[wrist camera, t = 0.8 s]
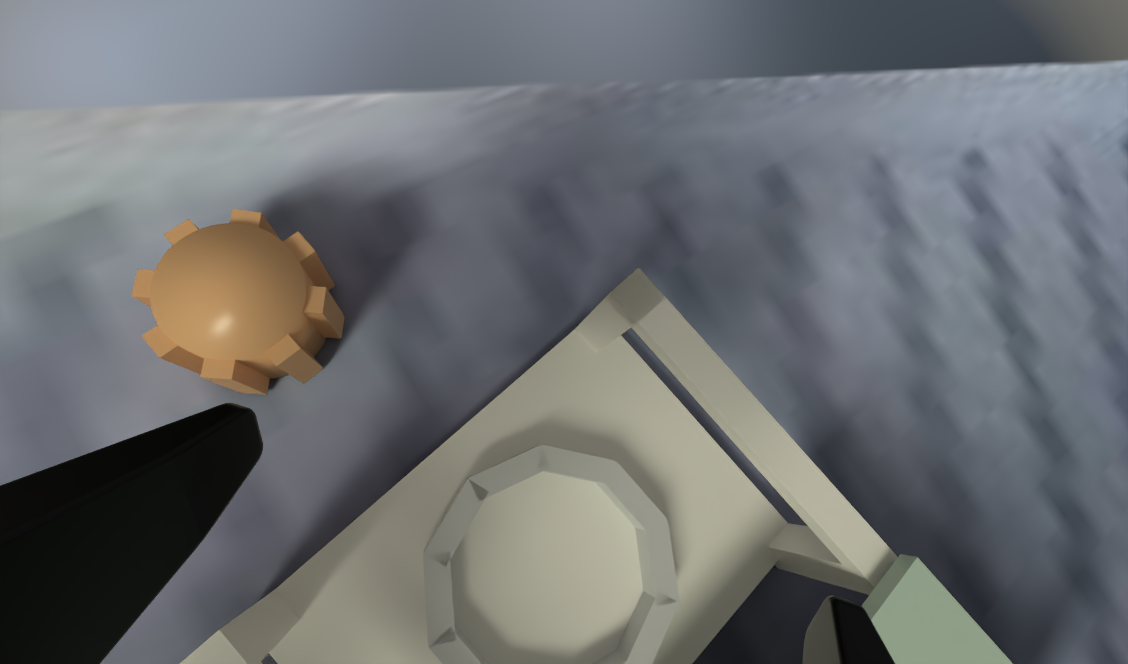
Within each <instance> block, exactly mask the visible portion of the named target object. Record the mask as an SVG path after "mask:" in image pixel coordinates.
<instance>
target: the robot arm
mask: <svg viewBox="0 0 1128 664" xmlns="http://www.w3.org/2000/svg"><path fill="white" fill-rule="evenodd" d="M262 451H263V442H262V438H261V434H260V430H259V426H258V422H257V418H256V415H255V413H254V412H253V411H252V410H251V409H250V408H247V407H244V406H241V405H237V404H234V403H225V404H222V405H219V406H216V407H213V408H211V409H208V410H205V411H203V412H200V413H197V414H194V415H192V416H189V417H186V418H183V419H181V420H178V421H175V422H173V423H170V424H167V425H164V426H162V427H159V428H156V429H154V430H151V431H148V432H145V433H143V434H140V435H137V436H134V437H132V438H129V439H126V440H124V441H121V442H118V443H115V444H113V445H110V446H107V447H104V448H102V449H99V450H96V451H94V452H91V453H88V454H85V455H83V456H80V457H77V458H74V459H72V460H69V461H66V462H64V463H61V464H58V465H55V466H53V467H50V468H47V469H44V470H42V471H39V472H36V473H33V474H31V475H28V476H25V477H23V478H20V479H17V480H14V481H12V482H9V483H6V484H3V485H1V486H0V664H100V663H101V662H102V661H103V659H104V658H105V657H106V656H107V655H108V653H109V652H110V651H111V650H112V649H113V647H114V646H115V645H116V644H117V643H118V641H119V640H120V639H121V638H122V637H123V635H124V634H125V633H126V632H127V631H128V629H129V628H130V627H131V626H132V625H133V623H134V622H135V621H136V620H137V619H138V618H139V616H140V615H141V614H142V613H143V612H144V610H145V609H146V608H147V607H148V606H149V604H150V603H151V602H152V601H153V600H154V598H155V597H156V596H157V595H158V594H159V592H160V591H161V590H162V589H163V588H164V586H165V585H166V584H167V583H168V582H169V580H170V579H171V578H172V577H173V576H174V574H175V573H176V572H177V571H178V570H179V568H180V567H181V566H182V565H183V564H184V562H185V561H186V560H187V559H188V558H189V557H190V555H191V554H192V553H193V552H194V550H195V549H196V548H197V547H198V545H199V544H200V543H201V542H202V540H203V539H204V538H205V536H206V535H207V534H208V532H209V531H210V530H211V528H212V527H213V526H214V524H215V523H216V521H217V520H218V518H219V517H220V515H221V514H222V512H223V511H224V510H225V508H226V507H227V505H228V504H229V502H230V501H231V499H232V498H233V497H234V495H235V494H236V492H237V491H238V489H239V488H240V486H241V485H242V483H243V482H244V481H245V479H246V478H247V476H248V475H249V473H250V472H251V470H252V469H253V468H254V466H255V465H256V463H257V462H258V460H259V458H260V456H261V454H262ZM802 664H895V662H894V660H893V659H892V657H891V655H890V653H889V651H888V650H887V648H886V646H885V644H884V643H883V641H882V639H881V637H880V635H879V634H878V632H877V630H876V628H875V626H874V625H873V623H872V621H871V619H870V618H869V616H868V614H867V612H866V611H865V609H864V608H863V607H862V606H861V605H860V604H858V603H856V602H853V601H850V600H847V599H843V598H840V597H837V596H833V595H831V596H828V597H827V598H826V599H825V600H824V601H823V603H822V605H821V606H820V608H819V610H818V611H817V613H816V615H815V617H814V618H813V620H812V622H811V623H810V625H809V627H808V629H807V632H806V635H805V641H804V650H803V663H802Z"/></svg>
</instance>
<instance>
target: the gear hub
mask: <svg viewBox="0 0 1128 664" xmlns="http://www.w3.org/2000/svg"><path fill="white" fill-rule="evenodd" d="M164 236H165V237H166V238H167V239H168V240H169V242H170V243H171V244H172V245H173V246H172V247H171V248H170V249H169V250H168V251H167V252H166V253H165V255H164V256H163V257H162V259H161V260H160V262H159V263H158V265H157V267H156V269H155V271H153V270H142V269H138V270H137V274H136V279H135V283H134V287H133V292H132V297H134V298H136V299H137V300H139V301H141V302H143V303H144V304H146V305H148V306H150V307H151V309H152V312H153V315H154V318H155V320H156V322H157V323H158V325H157V326H156V327H154V328H153V329H151V330H150V331H148V332H147V333H145V334H144V335H142V337H143V339H144V340H145V341H146V342H147V343H148V344H149V346H150V347H151V348H152V349H153V350H154V352H155V353H156V354H157V355H158V356H159V357H160V358H161V359H164V360H166V361H169V362H172V363H174V364H177V365H179V366H182V367H184V368H187V369H189V370H192V371H194V372H197V373H199V374H201V378H204V379H206V380H209V381H212V382H214V383H217V384H219V385H222V386H225V387H227V388H230V389H232V390H235V391H238V392H240V393H249V394H265V395H267V392H268V386H269V380H270V379H276V378H280V377H284V376H287V375H291V376H293V377H294V378H296V379H297V380H299V381H301V382H302V383H305V382H307V381H308V380H309V379H310V378H312V377H313V376H314V375H316V374H317V373H318V372H320V371H321V370H322V369H324V368H323V367H322V366H321V365H320V364H319V363H318V361H317V360H316V359H315V358H314V357H315V356H316V355H317V354H318V352H319V351H320V350H321V348H322V346H323V344H324V342H325V340H326V337H327V338H340V339H342V332H343V325H344V318H345V316H344V315H343V313H342V312H341V310H340V308H339V307H338V305H337V304H336V302H335V301H334V299H333V297H332V296H331V294H330V293H329V290H330V289H332V288H333V287H334V286H335V284H334V283H333V281H332V279H331V277H330V276H329V274H328V272H327V270H326V269H325V267H324V265H323V263H322V262H321V260H320V258H319V256H318V255H317V253H316V251H315V250H314V249H313V248H312V247H311V245H310V244H309V243H308V242H307V241H306V240H305V238H304V237H303V236H302V235H301V234H300V233H299V232H296V233H295V234H293V235H292V236H290V237H289V238H287V239H286V240H284V241H282V240H280V239H279V237H278V236H277V234H276V233H275V231H274V230H273V228H272V227H271V226H270V224H269V223H268V221H267V220H266V218H265V217H264V216H263V214H262V213H261V212H252V211H244V210H235V209H232V214H231V219H230V223H229V224H218V225H212V226H208V227H205V228H202V229H199V228H198V227H197V226H196V225H195V224H194V223H193V222H192V221H191V220H190V219H188V220H186V221H185V222H183V223H181V224H180V225H178V226H177V227H175V228H173V229H172V230H170V231H168V232H167V233H165V234H164Z"/></svg>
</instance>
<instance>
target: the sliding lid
mask: <svg viewBox="0 0 1128 664" xmlns="http://www.w3.org/2000/svg"><path fill="white" fill-rule="evenodd" d="M862 607H863V608H864V609H865V611H866V612H867V614H868V616H869V618H870V619H871V621H872V623H873V625H874V626H875V628H876V630H877V632H878V634H879V635H880V637H881V639H882V641H883V643H884V644H885V646H886V648H887V650H888V651H889V653H890V655H891V657H892V659H893V660H894V662H895V664H1013V663H1012V662H1011V661H1010V660H1009V659H1008V658H1007V657H1006V655H1005V654H1004V653H1003V652H1002V651H1001V650H1000V649H999V648H998V646H997V645H996V644H995V643H994V642H993V641H992V640H991V639H990V638H989V636H988V635H987V634H986V633H985V632H984V631H983V630H982V629H981V628H980V626H979V625H978V624H977V623H976V622H975V621H974V620H973V619H972V617H971V616H970V615H969V614H968V613H967V612H966V611H965V610H964V609H963V607H962V606H961V605H960V604H959V603H958V602H957V601H956V600H955V598H954V597H953V596H952V595H951V594H950V593H949V592H948V591H947V590H946V588H945V587H944V586H943V585H942V584H941V583H940V582H939V581H938V580H937V578H936V577H935V576H934V575H933V574H932V573H931V572H930V571H929V569H928V568H927V567H926V566H925V565H924V564H923V563H922V562H921V561H920V559H919V558H918V557H914V556H908V555H903V554H900V555H899V556H898V558H897V559H896V560H895V562H894V563H893V564H892V566H891V567H890V568H889V570H888V571H887V572H886V574H885V575H884V576H883V578H882V579H881V580H880V582H879V583H878V584H877V586H876V587H875V588H874V590H873V591H872V592H871V594H870V595H869V596H868V598H867V599H866V600H865V602H864V603H863V604H862Z"/></svg>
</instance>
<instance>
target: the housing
mask: <svg viewBox="0 0 1128 664" xmlns="http://www.w3.org/2000/svg"><path fill="white" fill-rule="evenodd" d="M630 328H632V329H633V330H634V331H635V332H636V333H637V334H638V335H639V336H640V338H641V339H642V340H643V341H644V342H645V343H646V344H647V345H648V347H649V348H650V349H651V350H652V351H653V352H654V353H655V354H656V356H657V357H658V358H659V359H660V360H661V361H662V362H663V363H664V365H665V366H666V367H667V368H668V369H669V370H670V371H671V372H672V374H673V375H674V376H675V377H676V378H677V379H678V380H679V381H680V383H681V384H682V385H683V386H684V387H685V388H686V389H687V390H688V392H689V393H690V394H691V395H692V396H693V397H694V398H695V399H696V401H697V402H698V403H699V404H700V405H701V406H702V407H703V408H704V410H705V411H706V412H707V413H708V414H709V415H710V416H711V417H712V419H713V420H714V421H715V422H716V423H717V424H718V425H719V426H720V428H721V429H722V430H723V431H724V432H725V433H726V434H727V435H728V437H729V438H730V439H731V440H732V441H733V442H734V443H735V444H736V446H737V447H738V448H739V449H740V450H741V451H742V452H743V453H744V455H745V456H746V457H747V458H748V459H749V460H750V461H751V462H752V464H753V465H754V466H755V467H756V468H757V469H758V470H759V471H760V473H761V474H762V475H763V476H764V477H765V478H766V479H767V480H768V482H769V483H770V484H771V485H772V486H773V487H774V488H775V489H776V491H777V492H778V493H779V494H780V495H781V496H782V497H783V498H784V500H785V501H786V502H787V503H788V504H789V505H790V506H791V507H792V509H793V510H794V511H795V512H796V513H797V514H798V515H799V516H800V518H801V519H802V520H803V521H804V522H805V523H806V524H807V525H808V526H803V525H797V524H790V523H787V522H786V520H785V519H784V518H783V517H782V516H781V515H780V514H779V513H778V511H777V510H776V509H775V508H774V507H773V506H772V505H771V504H770V502H769V501H768V500H767V499H766V498H765V497H764V496H763V494H762V493H761V492H760V491H759V490H758V489H757V488H756V487H755V485H754V484H753V483H752V482H751V481H750V480H749V479H748V478H747V476H746V475H745V474H744V473H743V472H742V471H741V470H740V469H739V467H738V466H737V465H736V464H735V463H734V462H733V461H732V460H731V458H730V457H729V456H728V455H727V454H726V453H725V452H724V451H723V449H722V448H721V447H720V446H719V445H718V444H717V443H716V442H715V440H714V439H713V438H712V437H711V436H710V435H709V434H708V433H707V431H706V430H705V429H704V428H703V427H702V426H701V425H700V424H699V422H698V421H697V420H696V419H695V418H694V417H693V416H692V415H691V413H690V412H689V411H688V410H687V409H686V408H685V407H684V406H683V404H682V403H681V402H680V401H679V400H678V399H677V398H676V397H675V395H674V394H673V393H672V392H671V391H670V390H669V389H668V388H667V386H666V385H665V384H664V383H663V382H662V381H661V380H660V378H659V377H658V376H657V375H656V374H655V373H654V372H653V371H652V369H651V368H650V367H649V366H648V365H647V364H646V363H645V362H644V360H643V359H642V358H641V357H640V356H639V355H638V354H637V353H636V351H635V350H634V349H633V348H632V347H631V346H630V345H629V344H628V342H627V341H626V340H625V339H624V338H623V337H622V336H621V335H622V334H623V333H624V332H626V331H627V330H628V329H630ZM897 558H898V557H897V555H896V554H895V553H894V552H893V551H892V550H891V549H890V548H889V547H888V545H887V544H886V543H885V542H884V541H883V540H882V539H881V538H880V536H879V535H878V534H877V533H876V532H875V531H874V530H873V529H872V528H871V526H870V525H869V524H868V523H867V522H866V521H865V520H864V519H863V517H862V516H861V515H860V514H859V513H858V512H857V511H856V510H855V509H854V507H853V506H852V505H851V504H850V503H849V502H848V501H847V500H846V498H845V497H844V496H843V495H842V494H841V493H840V492H839V491H838V490H837V488H836V487H835V486H834V485H833V484H832V483H831V482H830V481H829V479H828V478H827V477H826V476H825V475H824V474H823V473H822V472H821V470H820V469H819V468H818V467H817V466H816V465H815V464H814V463H813V462H812V460H811V459H810V458H809V457H808V456H807V455H806V454H805V453H804V451H803V450H802V449H801V448H800V447H799V446H798V445H797V444H796V443H795V441H794V440H793V439H792V438H791V437H790V436H789V435H788V434H787V432H786V431H785V430H784V429H783V428H782V427H781V426H780V425H779V424H778V422H777V421H776V420H775V419H774V418H773V417H772V416H771V415H770V413H769V412H768V411H767V410H766V409H765V408H764V407H763V406H762V405H761V403H760V402H759V401H758V400H757V399H756V398H755V397H754V396H753V394H752V393H751V392H750V391H749V390H748V389H747V388H746V387H745V386H744V384H743V383H742V382H741V381H740V380H739V379H738V378H737V377H736V375H735V374H734V373H733V372H732V371H731V370H730V369H729V368H728V367H727V365H726V364H725V363H724V362H723V361H722V360H721V359H720V358H719V356H718V355H717V354H716V353H715V352H714V351H713V350H712V349H711V348H710V346H709V345H708V344H707V343H706V342H705V341H704V340H703V339H702V337H701V336H700V335H699V334H698V333H697V332H696V331H695V330H694V329H693V327H692V326H691V325H690V324H689V323H688V322H687V321H686V320H685V318H684V317H683V316H682V315H681V314H680V313H679V312H678V311H677V309H676V308H675V307H674V306H673V305H672V304H671V303H670V302H669V301H668V299H667V298H666V297H665V296H664V295H663V294H662V293H661V292H660V290H659V289H658V288H657V287H656V286H655V285H654V284H653V283H652V282H651V280H650V279H649V278H648V277H647V276H646V275H645V274H644V273H643V271H642V270H641V269H640V268H638V269H636V270H635V271H634V272H633V273H632V274H631V275H629V276H628V277H627V278H626V279H625V280H624V281H622V282H621V283H620V284H619V285H618V286H617V287H616V288H614V289H613V290H612V291H611V292H610V293H609V294H608V295H607V296H606V297H605V298H604V299H603V300H602V301H601V302H600V303H599V304H598V305H597V307H596V308H595V309H594V310H593V311H592V312H591V313H590V314H589V315H588V316H587V317H586V318H585V319H584V320H583V321H582V322H581V323H580V324H579V325H578V326H577V327H576V329H574V330H573V331H572V332H571V333H570V334H569V335H568V336H566V337H565V338H564V339H563V340H562V341H561V342H559V343H558V344H557V345H556V346H555V347H554V348H553V349H551V350H550V351H549V352H548V353H547V354H546V355H544V356H543V357H542V358H541V359H540V360H539V361H538V362H536V363H535V364H534V365H533V366H532V367H531V368H530V369H528V370H527V371H526V372H525V373H524V374H523V375H521V376H520V377H519V378H518V379H517V380H516V381H515V382H513V383H512V384H511V385H510V386H509V387H508V388H506V389H505V390H504V391H503V392H502V393H501V394H500V395H498V396H497V397H496V398H495V399H494V400H493V401H491V402H490V403H489V404H488V405H487V406H486V407H485V408H483V409H482V410H481V411H480V412H479V413H478V414H477V415H475V416H474V417H473V418H472V419H471V420H470V421H468V422H467V423H466V424H465V425H464V426H463V427H462V428H460V429H459V430H458V431H457V432H456V433H455V434H453V435H452V436H451V437H450V438H449V439H448V440H447V441H445V442H444V443H443V444H442V445H441V446H440V447H438V448H437V449H436V450H435V451H434V452H433V453H432V454H430V455H429V456H428V457H427V458H426V459H425V460H424V461H422V462H421V463H420V464H419V465H418V466H417V467H415V468H414V469H413V470H412V471H411V472H410V473H409V474H407V475H406V476H405V477H404V478H403V479H402V480H400V481H399V482H398V483H397V484H396V485H395V486H394V487H392V488H391V489H390V490H389V491H388V492H387V493H385V494H384V495H383V496H382V497H381V498H380V499H379V500H377V501H376V502H375V503H374V504H373V505H372V506H371V507H369V508H368V509H367V510H366V511H365V512H364V513H362V514H361V515H360V516H359V517H358V518H357V519H356V520H354V521H353V522H352V523H351V524H350V525H349V526H347V527H346V528H345V529H344V530H343V531H342V532H341V533H339V534H338V535H337V536H336V537H335V538H334V539H332V540H331V541H330V542H329V543H328V544H327V545H326V546H324V547H323V548H322V549H321V550H320V551H319V552H318V553H316V554H315V555H314V556H313V557H312V558H311V559H309V560H308V561H307V562H306V563H305V564H304V565H303V566H301V567H300V568H299V569H298V570H297V571H296V572H294V573H293V574H292V575H291V576H290V577H289V578H288V579H286V580H285V581H284V582H283V583H282V584H281V585H279V586H278V587H277V588H276V589H275V590H273V591H272V592H271V593H269V594H268V595H266V596H265V597H264V598H262V599H261V600H260V601H258V602H257V603H255V604H254V605H253V606H251V607H250V608H248V609H247V610H246V611H244V612H243V613H242V614H240V615H239V616H237V617H236V618H235V619H233V620H232V621H230V622H229V623H228V624H226V625H225V626H224V627H222V628H221V629H219V630H218V631H217V632H216V633H215V634H214V635H212V636H211V637H210V638H209V639H208V640H207V641H205V642H204V643H203V644H202V645H201V646H200V647H199V648H197V649H196V650H195V651H194V652H193V653H192V654H190V655H189V656H188V657H187V658H186V659H185V660H183V661H182V662H181V663H180V664H263V663H262V662H261V661H262V660H263V659H264V658H265V657H266V656H267V655H268V653H269V654H270V655H271V656H272V657H273V659H274V660H275V661H276V662H277V663H278V664H692V663H693V662H694V661H695V660H696V659H697V657H698V656H699V655H700V654H701V653H702V651H703V650H704V649H705V648H706V647H707V645H708V644H709V643H710V642H711V641H712V639H713V638H714V637H715V636H716V635H717V633H718V632H719V631H720V630H721V629H722V627H723V626H724V625H725V624H726V623H727V621H728V620H729V619H730V618H731V616H732V615H733V614H734V613H735V612H736V610H737V609H738V608H739V607H740V606H741V604H742V603H743V602H744V601H745V600H746V598H747V597H748V596H749V595H750V594H751V592H752V591H753V590H754V589H755V588H756V586H757V585H758V584H759V583H760V582H761V580H762V579H763V578H764V577H765V576H766V574H767V573H768V572H769V571H770V570H771V568H772V567H773V566H774V565H775V566H776V567H777V568H778V569H781V570H785V571H788V572H792V573H795V574H799V575H802V576H805V577H809V578H812V579H816V580H819V581H823V582H826V583H829V584H833V585H836V586H840V587H843V588H847V589H850V590H853V591H857V592H860V593H864V594H867V595H870V594H871V592H872V591H873V590H874V588H875V587H876V586H877V584H878V583H879V582H880V580H881V579H882V578H883V576H884V575H885V574H886V572H887V571H888V570H889V568H890V567H891V566H892V564H893V563H894V562H895V560H896V559H897Z"/></svg>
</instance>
